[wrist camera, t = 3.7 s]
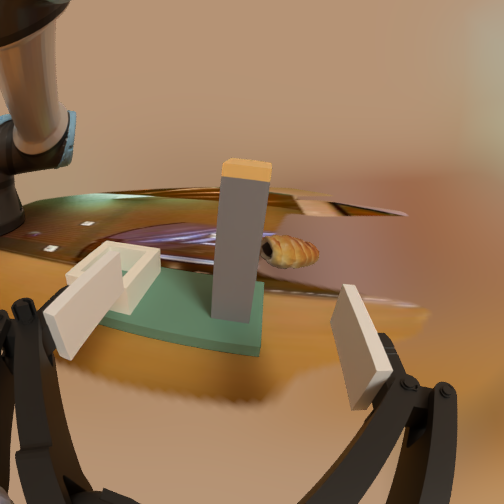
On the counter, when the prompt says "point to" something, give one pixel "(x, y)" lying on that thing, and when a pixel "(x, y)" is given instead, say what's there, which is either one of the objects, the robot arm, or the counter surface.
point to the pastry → (288, 252)
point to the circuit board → (189, 315)
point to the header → (132, 260)
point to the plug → (239, 237)
